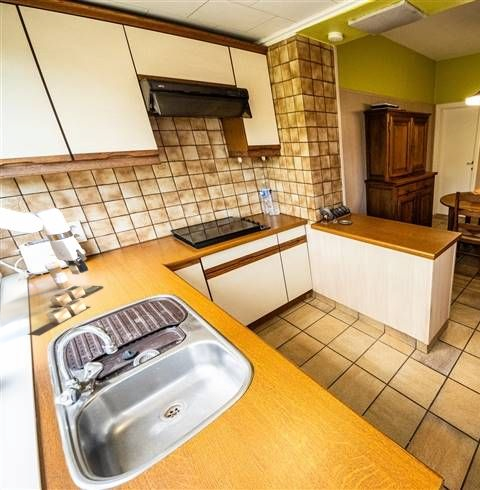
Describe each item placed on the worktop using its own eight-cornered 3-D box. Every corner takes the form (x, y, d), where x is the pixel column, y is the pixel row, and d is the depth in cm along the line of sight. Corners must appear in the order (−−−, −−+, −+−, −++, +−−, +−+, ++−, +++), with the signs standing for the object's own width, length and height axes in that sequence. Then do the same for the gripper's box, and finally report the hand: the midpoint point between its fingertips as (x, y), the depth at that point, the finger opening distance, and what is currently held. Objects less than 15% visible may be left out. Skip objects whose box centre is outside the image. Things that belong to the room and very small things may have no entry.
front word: (40, 337, 101) (32, 326, 99) (28, 336, 102) (20, 325, 100) (92, 308, 117) (86, 298, 115) (81, 307, 118) (75, 297, 116)
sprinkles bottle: (56, 288, 135) (42, 265, 130) (68, 283, 139) (54, 261, 133) (61, 289, 133) (47, 266, 128) (73, 285, 137) (59, 262, 132)
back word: (60, 310, 117) (54, 299, 115) (49, 309, 118) (43, 299, 116) (103, 287, 133) (98, 278, 131) (94, 287, 134) (88, 278, 132)
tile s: (79, 274, 124) (75, 266, 122) (72, 274, 125) (67, 265, 123) (89, 270, 128) (85, 262, 126) (82, 269, 129) (78, 261, 127)
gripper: (35, 238, 117) (57, 274, 124) (65, 239, 114) (86, 276, 122) (56, 232, 124) (75, 266, 131) (85, 233, 121) (103, 268, 128)
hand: (80, 270), depth 126 cm, fingers closed on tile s, 4 cm apart
